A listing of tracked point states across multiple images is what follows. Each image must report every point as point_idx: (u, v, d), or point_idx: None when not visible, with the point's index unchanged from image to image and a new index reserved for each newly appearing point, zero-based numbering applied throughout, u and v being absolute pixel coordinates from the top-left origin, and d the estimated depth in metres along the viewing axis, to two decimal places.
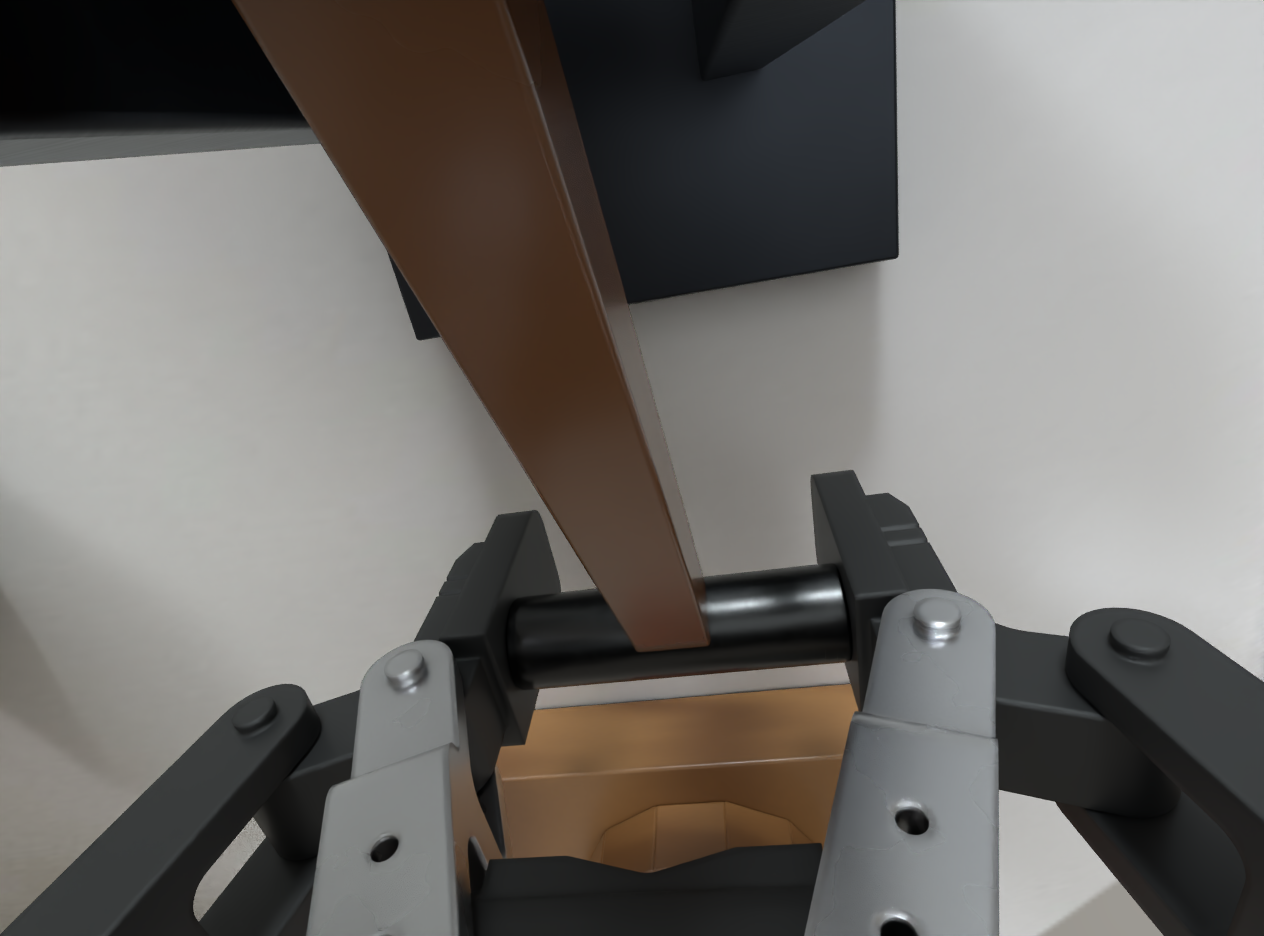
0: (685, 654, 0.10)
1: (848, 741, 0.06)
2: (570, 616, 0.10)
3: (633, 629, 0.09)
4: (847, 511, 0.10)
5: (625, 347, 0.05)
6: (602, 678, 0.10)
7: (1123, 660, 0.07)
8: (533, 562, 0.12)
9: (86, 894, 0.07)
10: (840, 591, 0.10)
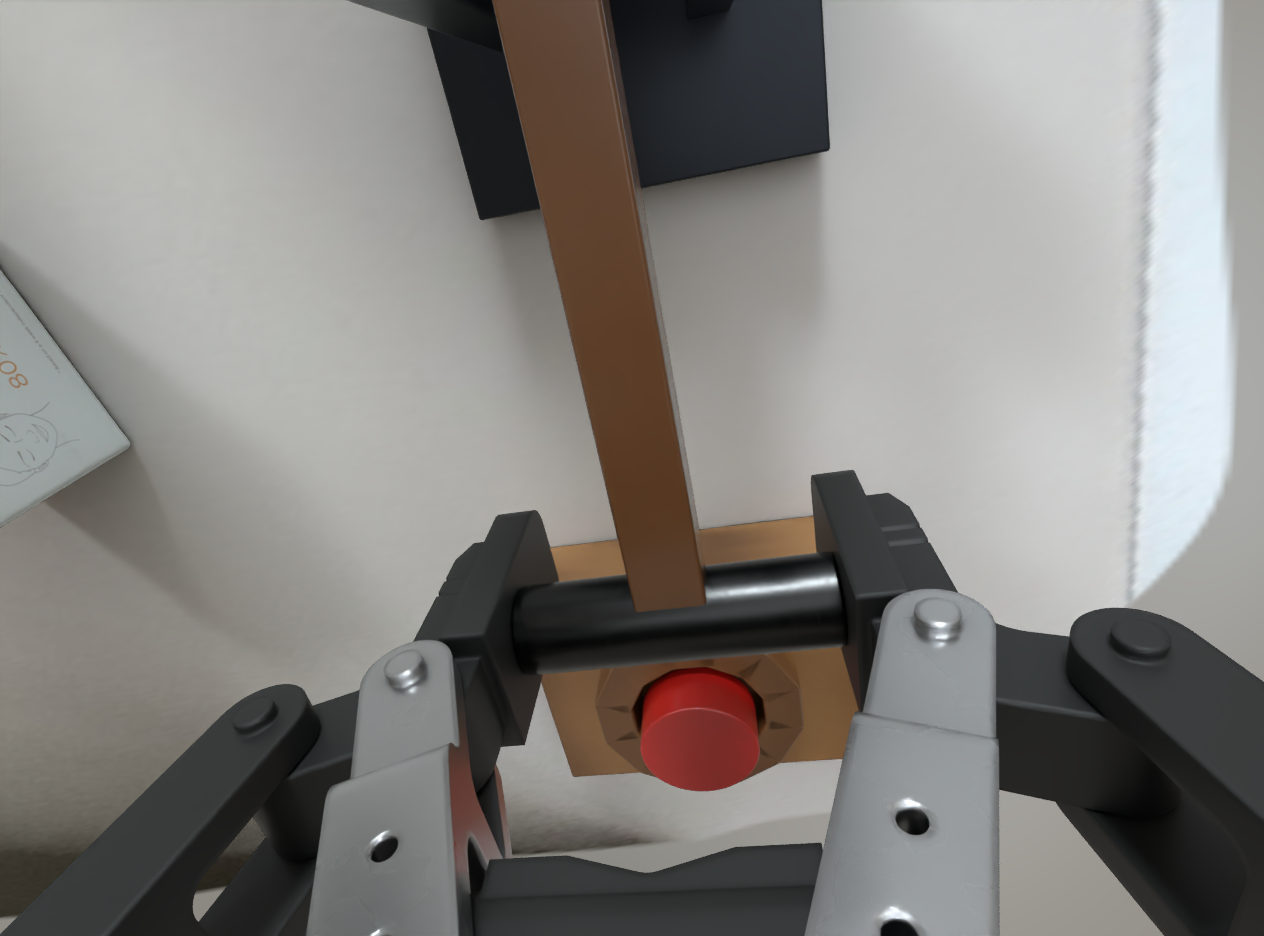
0: (682, 613, 0.10)
1: (848, 741, 0.06)
2: (577, 585, 0.11)
3: (632, 558, 0.10)
4: (848, 511, 0.10)
5: (633, 170, 0.08)
6: (600, 645, 0.10)
7: (1124, 660, 0.07)
8: (533, 562, 0.12)
9: (86, 894, 0.07)
10: (830, 558, 0.10)
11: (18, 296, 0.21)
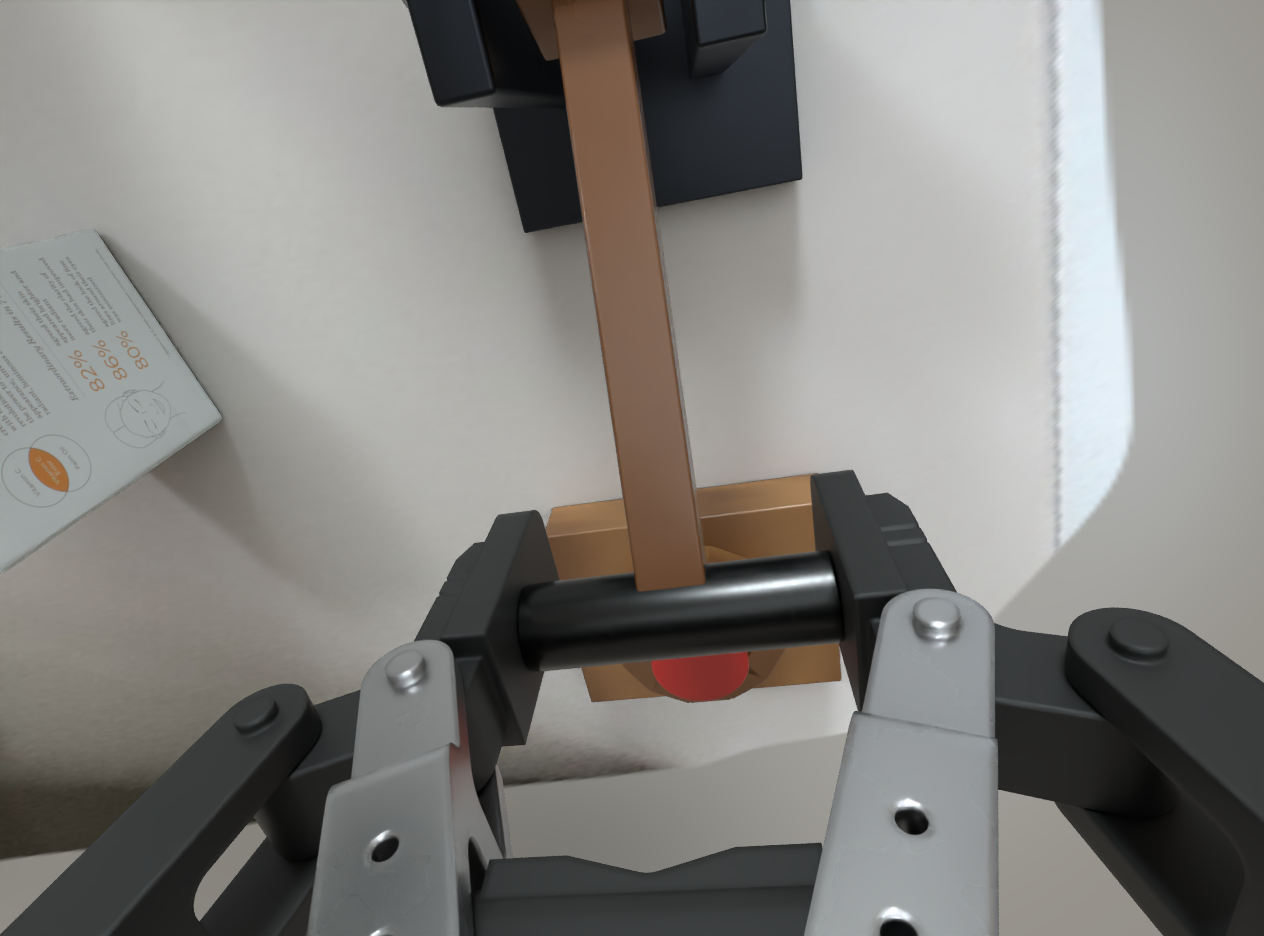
0: (681, 591, 0.10)
1: (847, 741, 0.06)
2: (584, 578, 0.11)
3: (637, 529, 0.11)
4: (847, 511, 0.10)
5: (653, 199, 0.10)
6: (600, 623, 0.10)
7: (1122, 660, 0.07)
8: (533, 562, 0.12)
9: (88, 893, 0.07)
10: (825, 550, 0.11)
11: (137, 294, 0.25)
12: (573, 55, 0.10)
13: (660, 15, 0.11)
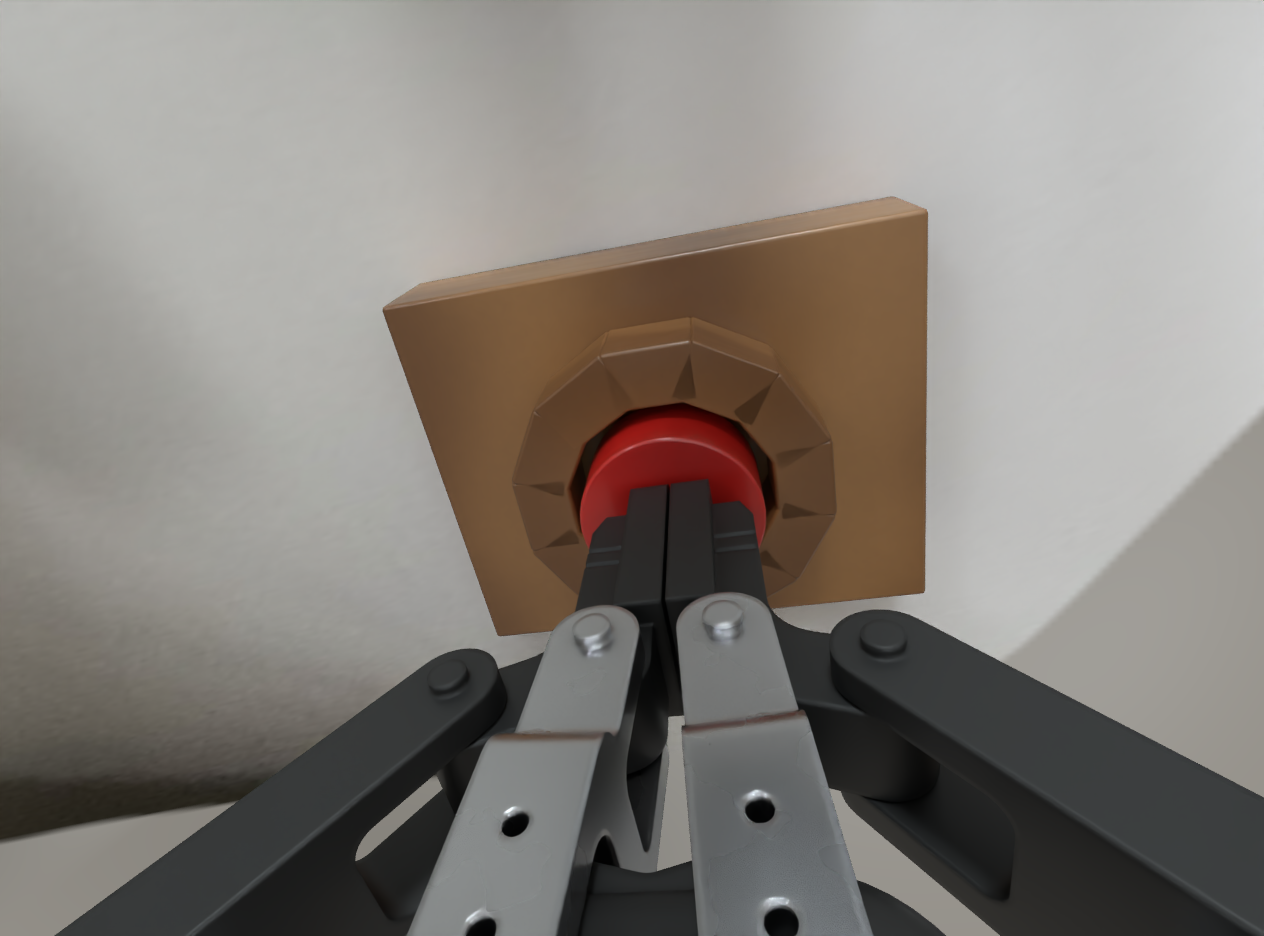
0: None
1: (684, 756, 0.06)
2: None
3: None
4: (688, 518, 0.11)
5: None
6: None
7: (864, 657, 0.08)
8: None
9: (275, 813, 0.07)
10: None
11: None
12: None
13: None
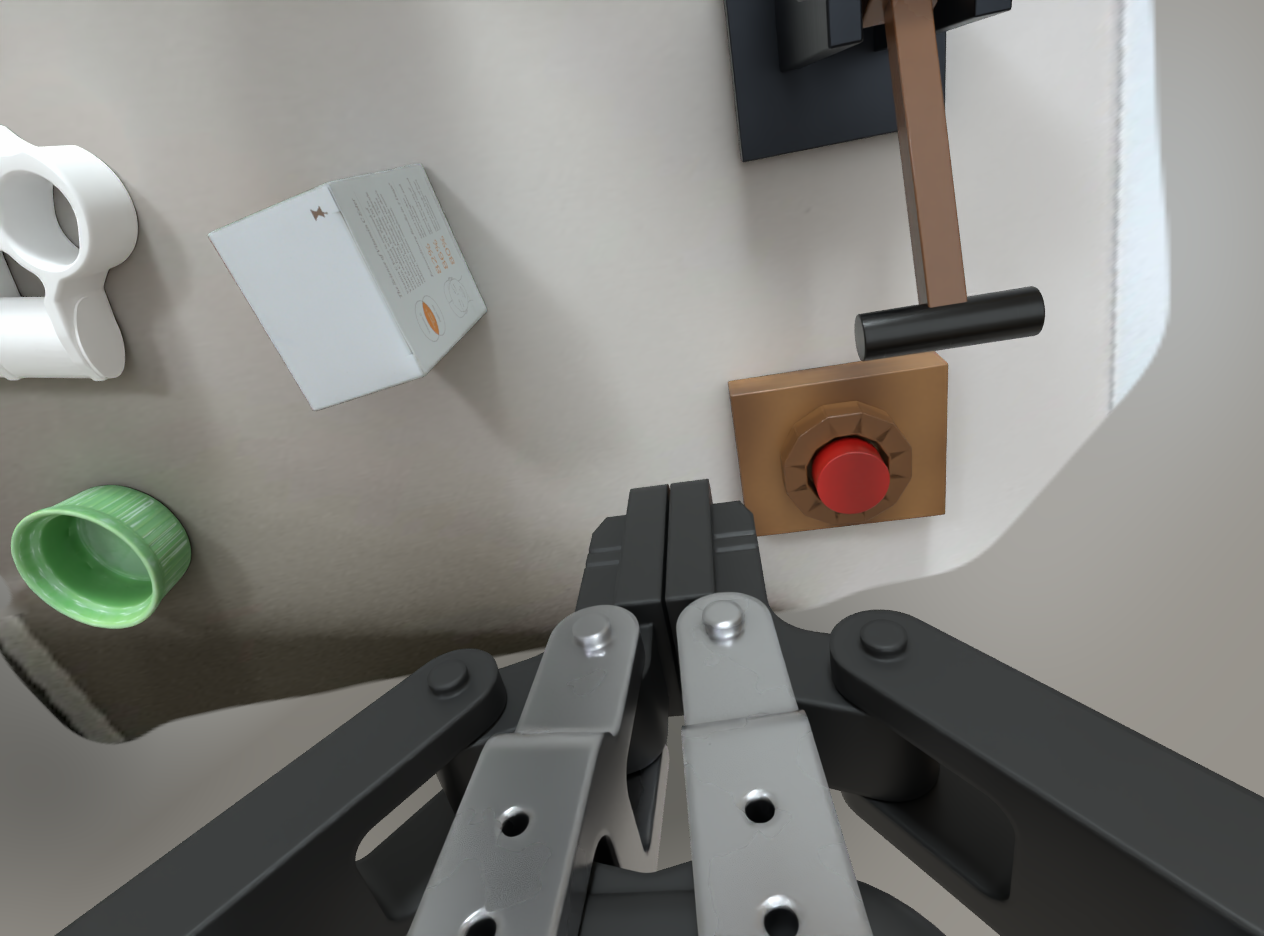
0: (955, 305, 0.20)
1: (684, 756, 0.06)
2: None
3: (930, 274, 0.20)
4: (688, 518, 0.11)
5: None
6: (911, 323, 0.20)
7: (864, 657, 0.08)
8: None
9: (275, 813, 0.07)
10: (1028, 287, 0.20)
11: (442, 212, 0.35)
12: (902, 22, 0.20)
13: (936, 2, 0.20)
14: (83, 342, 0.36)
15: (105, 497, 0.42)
